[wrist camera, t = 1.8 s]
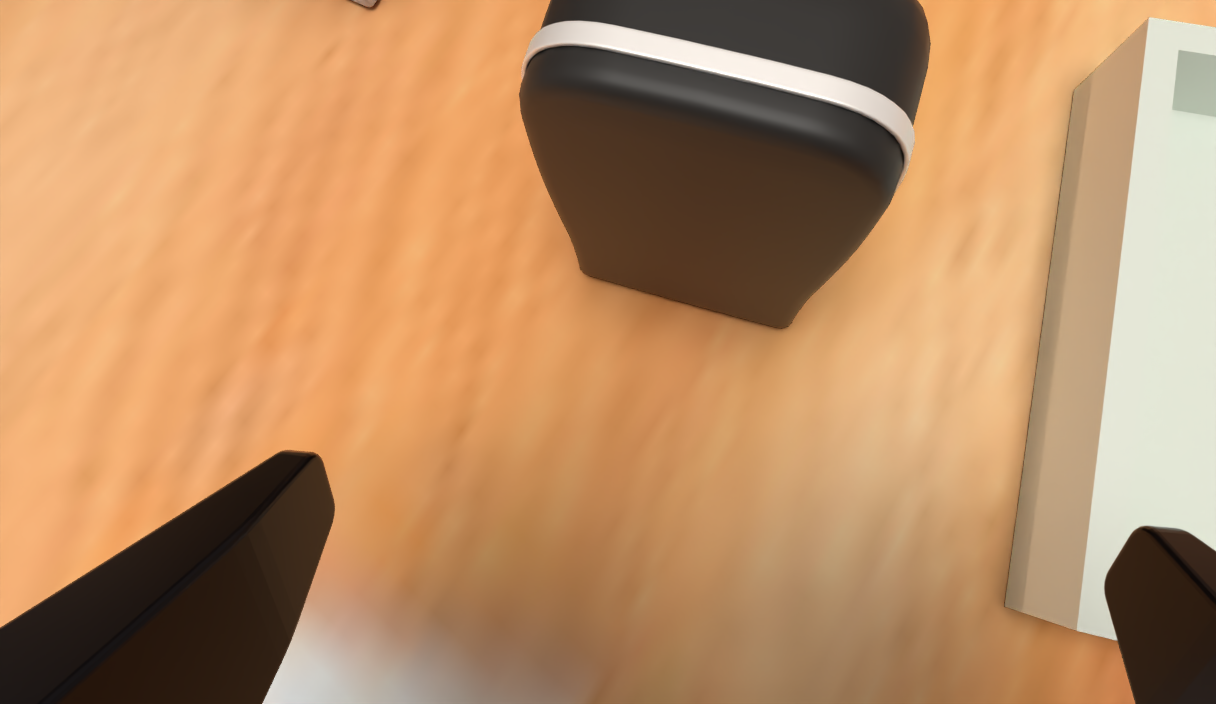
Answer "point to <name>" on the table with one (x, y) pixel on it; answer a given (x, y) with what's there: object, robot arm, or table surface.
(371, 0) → the coffee box
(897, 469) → the table surface
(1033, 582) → the tray
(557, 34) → the battery charger
